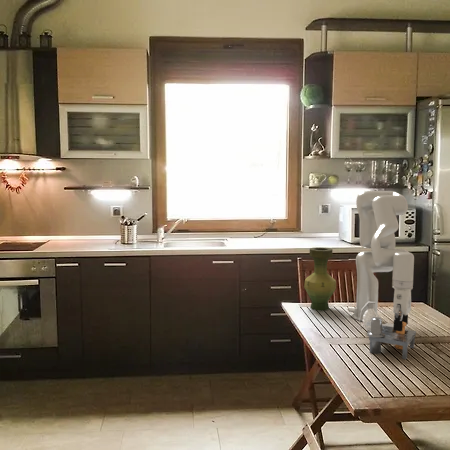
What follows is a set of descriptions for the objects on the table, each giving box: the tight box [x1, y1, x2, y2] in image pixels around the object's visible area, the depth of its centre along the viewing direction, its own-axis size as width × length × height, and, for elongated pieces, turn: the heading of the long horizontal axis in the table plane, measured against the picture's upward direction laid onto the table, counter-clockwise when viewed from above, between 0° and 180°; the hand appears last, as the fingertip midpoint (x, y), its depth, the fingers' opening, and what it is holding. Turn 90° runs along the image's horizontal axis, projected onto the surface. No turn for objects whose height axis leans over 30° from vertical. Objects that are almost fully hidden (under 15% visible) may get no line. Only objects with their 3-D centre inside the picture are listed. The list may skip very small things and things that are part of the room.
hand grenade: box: [358, 302, 378, 332], centre depth 214 cm, size 8×6×13 cm
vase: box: [303, 246, 337, 312], centre depth 249 cm, size 16×16×30 cm
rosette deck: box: [366, 317, 417, 360], centre depth 192 cm, size 18×17×13 cm
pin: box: [394, 322, 407, 350], centre depth 194 cm, size 4×4×10 cm
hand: (400, 327), depth 194 cm, fingers open, 9 cm apart
